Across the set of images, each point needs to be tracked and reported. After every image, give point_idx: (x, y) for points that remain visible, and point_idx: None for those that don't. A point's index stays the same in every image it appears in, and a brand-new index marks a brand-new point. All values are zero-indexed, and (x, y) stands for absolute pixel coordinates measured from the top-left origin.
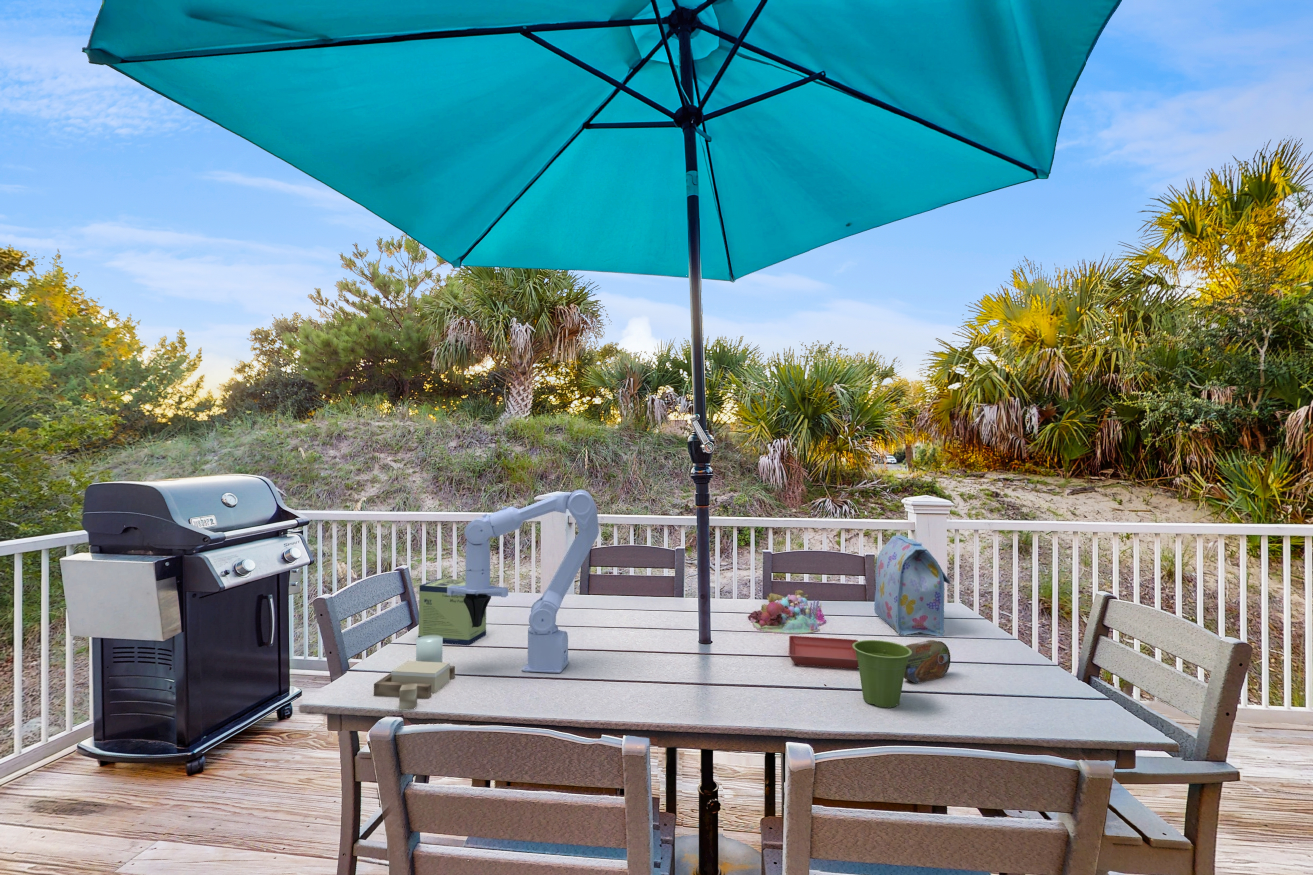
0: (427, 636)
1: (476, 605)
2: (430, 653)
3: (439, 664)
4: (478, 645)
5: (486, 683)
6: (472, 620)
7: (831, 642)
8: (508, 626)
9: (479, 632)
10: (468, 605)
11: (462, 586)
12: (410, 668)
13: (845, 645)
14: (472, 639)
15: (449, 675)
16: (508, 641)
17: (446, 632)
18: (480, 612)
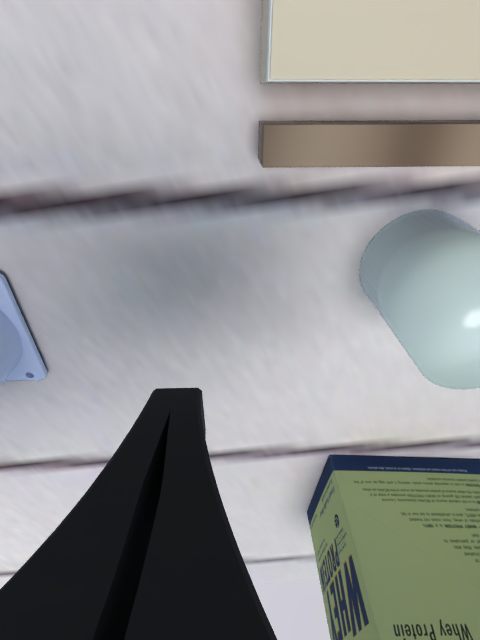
0: None
1: (61, 627)
2: (439, 248)
3: (331, 22)
4: (298, 457)
5: (52, 85)
6: (190, 424)
7: None
8: (272, 551)
9: (318, 509)
10: (215, 615)
11: None
12: None
13: None
14: (325, 478)
15: (275, 122)
16: (224, 487)
17: (416, 489)
18: (71, 512)
